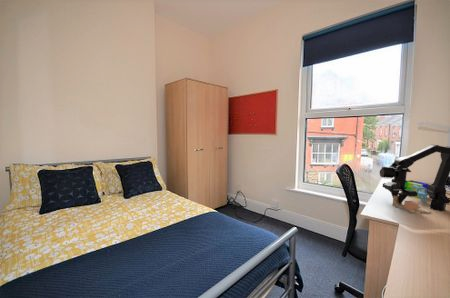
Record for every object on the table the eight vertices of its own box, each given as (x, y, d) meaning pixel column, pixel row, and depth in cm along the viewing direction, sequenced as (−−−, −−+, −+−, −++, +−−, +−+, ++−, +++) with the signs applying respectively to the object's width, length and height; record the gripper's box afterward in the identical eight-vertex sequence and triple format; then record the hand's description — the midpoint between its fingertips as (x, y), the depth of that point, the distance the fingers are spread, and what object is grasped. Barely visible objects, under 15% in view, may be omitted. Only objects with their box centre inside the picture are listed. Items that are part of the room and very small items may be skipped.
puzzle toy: (426, 197, 148) (428, 183, 147) (418, 198, 145) (420, 185, 144) (409, 192, 158) (411, 180, 156) (402, 194, 154) (403, 181, 153)
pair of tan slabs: (411, 205, 129) (411, 204, 129) (429, 213, 118) (429, 211, 118) (404, 205, 129) (404, 204, 129) (421, 213, 118) (422, 211, 118)
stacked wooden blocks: (398, 204, 131) (399, 195, 130) (419, 213, 118) (421, 203, 117) (391, 204, 131) (392, 195, 130) (412, 213, 118) (413, 203, 117)
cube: (410, 207, 123) (411, 200, 123) (417, 210, 119) (418, 203, 118) (403, 207, 123) (404, 200, 122) (410, 210, 119) (411, 203, 118)
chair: (429, 205, 133) (431, 187, 132) (414, 204, 135) (416, 186, 133) (420, 201, 141) (423, 184, 139) (406, 199, 142) (408, 183, 141)
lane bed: (399, 201, 138) (399, 199, 138) (431, 214, 118) (431, 211, 118) (381, 202, 137) (381, 199, 137) (410, 215, 118) (410, 212, 117)
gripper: (375, 174, 136) (373, 197, 138) (401, 182, 118) (398, 208, 120) (391, 174, 137) (389, 197, 139) (419, 182, 119) (416, 208, 121)
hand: (397, 202), depth 130 cm, fingers open, 3 cm apart
